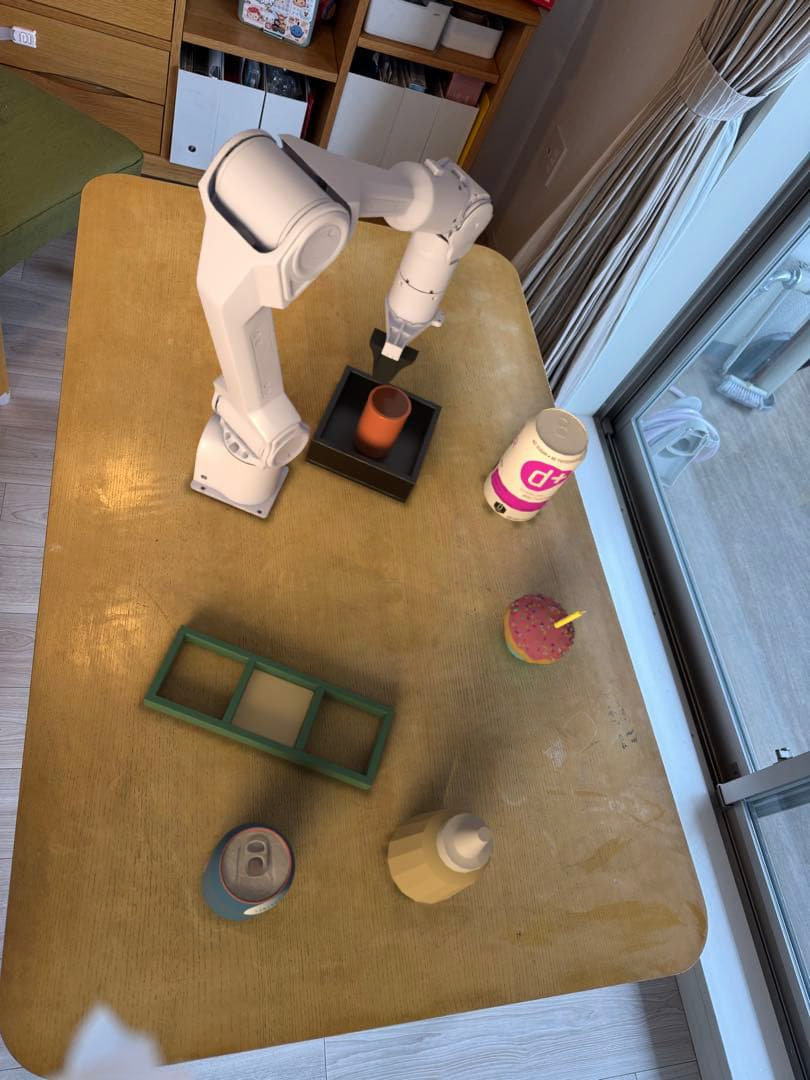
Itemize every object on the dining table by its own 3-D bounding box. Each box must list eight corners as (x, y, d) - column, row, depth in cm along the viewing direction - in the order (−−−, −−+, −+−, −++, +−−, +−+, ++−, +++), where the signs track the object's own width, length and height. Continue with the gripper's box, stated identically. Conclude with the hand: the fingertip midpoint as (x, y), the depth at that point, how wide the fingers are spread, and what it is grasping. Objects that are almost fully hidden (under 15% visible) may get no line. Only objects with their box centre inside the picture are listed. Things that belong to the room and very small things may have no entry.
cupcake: (561, 628, 96) (610, 587, 86) (546, 688, 91) (597, 652, 81) (499, 599, 95) (542, 554, 85) (481, 658, 91) (524, 618, 81)
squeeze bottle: (374, 821, 78) (432, 783, 63) (449, 818, 80) (522, 781, 65) (379, 909, 74) (442, 892, 59) (458, 904, 77) (537, 885, 62)
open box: (304, 460, 96) (311, 439, 93) (339, 386, 104) (347, 364, 100) (404, 503, 98) (415, 484, 94) (431, 427, 105) (442, 406, 102)
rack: (365, 791, 79) (371, 786, 77) (143, 706, 77) (143, 699, 75) (388, 715, 84) (395, 708, 82) (180, 633, 81) (181, 624, 79)
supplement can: (535, 531, 102) (591, 469, 90) (477, 511, 101) (526, 445, 88) (541, 483, 106) (595, 418, 94) (486, 463, 105) (533, 394, 93)
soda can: (275, 919, 71) (299, 909, 61) (198, 924, 69) (209, 915, 59) (276, 839, 74) (298, 817, 64) (202, 842, 72) (213, 819, 62)
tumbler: (347, 447, 99) (363, 408, 92) (360, 417, 102) (376, 378, 95) (386, 464, 99) (404, 427, 93) (397, 434, 102) (416, 396, 96)
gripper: (441, 332, 80) (403, 412, 91) (472, 250, 88) (434, 333, 99) (379, 304, 79) (348, 388, 91) (416, 224, 87) (383, 310, 98)
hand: (389, 358), depth 95 cm, fingers open, 7 cm apart
